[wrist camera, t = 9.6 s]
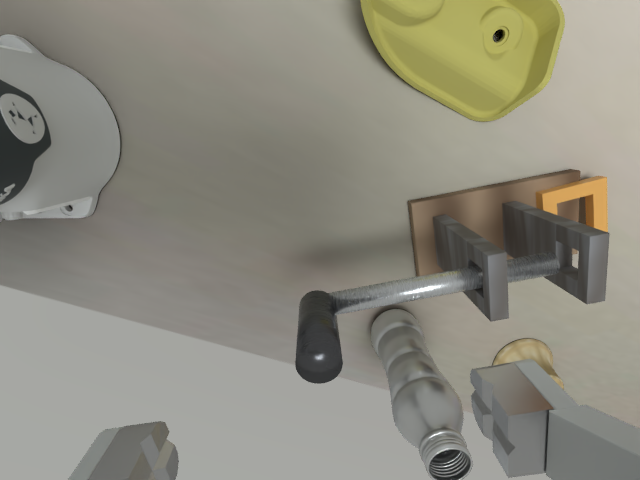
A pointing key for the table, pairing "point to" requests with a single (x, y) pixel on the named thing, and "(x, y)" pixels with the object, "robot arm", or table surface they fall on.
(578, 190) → the frame
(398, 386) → the plastic bottle
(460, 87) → the plastic component
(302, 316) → the shaft
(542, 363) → the hand bell
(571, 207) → the shaft frame
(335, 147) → the table surface
